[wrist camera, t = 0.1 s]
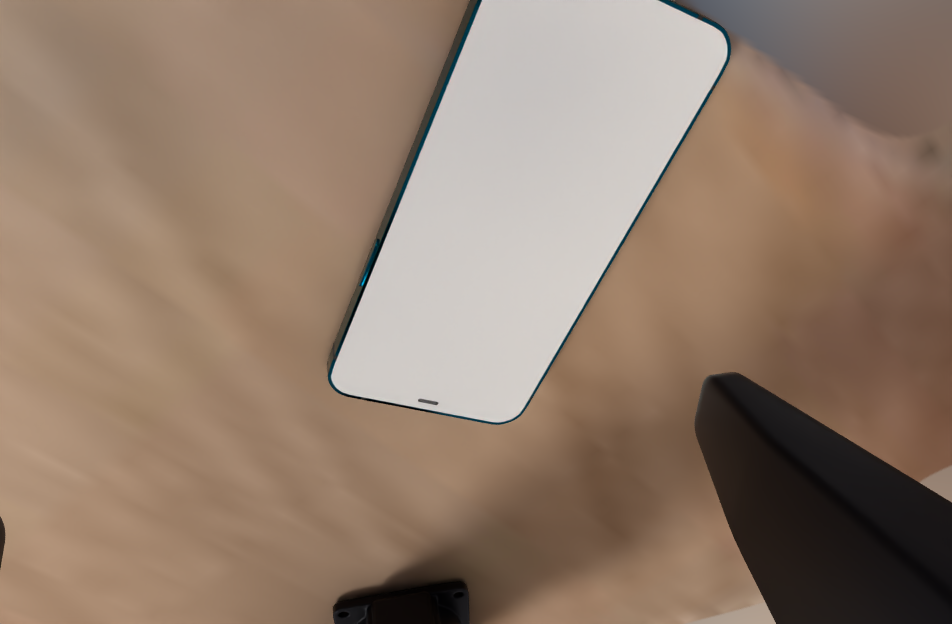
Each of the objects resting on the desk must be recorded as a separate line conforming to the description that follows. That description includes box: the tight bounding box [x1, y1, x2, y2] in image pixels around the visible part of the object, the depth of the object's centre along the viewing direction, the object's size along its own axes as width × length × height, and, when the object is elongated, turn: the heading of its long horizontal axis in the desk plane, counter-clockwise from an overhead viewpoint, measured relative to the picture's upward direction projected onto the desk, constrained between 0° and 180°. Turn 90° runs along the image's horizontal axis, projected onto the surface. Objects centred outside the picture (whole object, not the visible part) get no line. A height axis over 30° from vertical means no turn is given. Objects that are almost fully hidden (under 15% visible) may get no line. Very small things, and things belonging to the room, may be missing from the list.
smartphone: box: [327, 0, 731, 425], centre depth 24 cm, size 8×1×16 cm
